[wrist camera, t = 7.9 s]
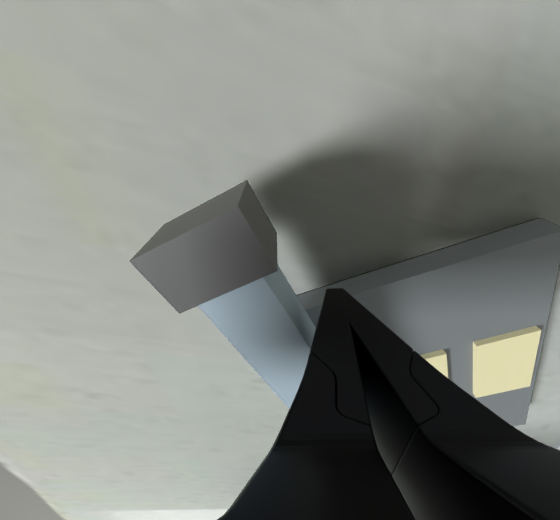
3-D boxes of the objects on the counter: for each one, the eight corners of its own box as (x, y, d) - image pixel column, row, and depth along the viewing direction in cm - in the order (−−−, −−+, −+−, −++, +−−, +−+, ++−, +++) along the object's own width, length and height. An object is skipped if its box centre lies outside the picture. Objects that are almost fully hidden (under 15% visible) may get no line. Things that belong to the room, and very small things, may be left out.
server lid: (511, 406, 19) (535, 436, 17) (343, 441, 21) (349, 471, 19) (539, 217, 11) (588, 238, 9) (268, 304, 13) (268, 333, 12)
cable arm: (382, 422, 15) (399, 470, 13) (333, 435, 16) (342, 483, 14) (247, 180, 8) (237, 205, 6) (164, 224, 8) (129, 261, 6)
